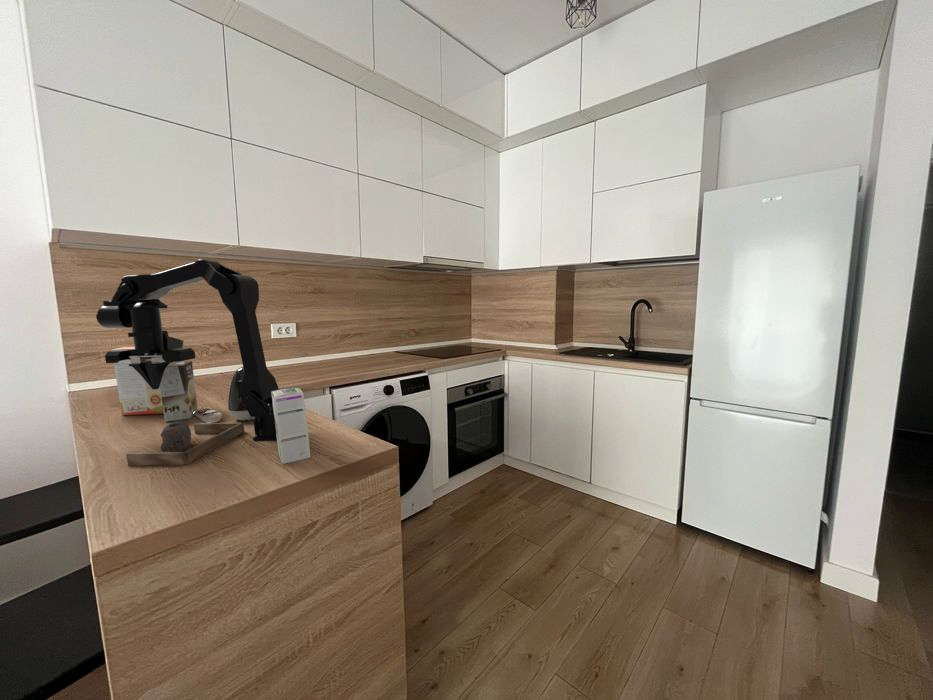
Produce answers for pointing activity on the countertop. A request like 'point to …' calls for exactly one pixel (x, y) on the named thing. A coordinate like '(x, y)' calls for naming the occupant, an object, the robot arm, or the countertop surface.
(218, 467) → the countertop surface
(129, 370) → the cracker box
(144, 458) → the walnut frame
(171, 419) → the coffee box
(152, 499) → the countertop surface
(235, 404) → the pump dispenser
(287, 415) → the syrup box
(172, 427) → the perforated stone tool
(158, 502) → the countertop surface
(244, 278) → the robot arm
